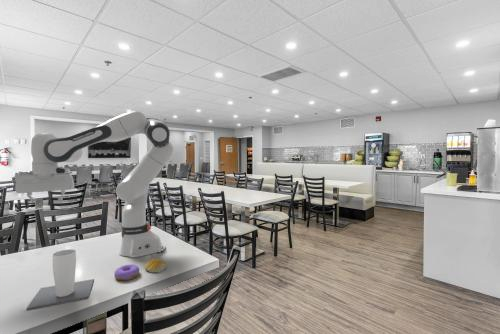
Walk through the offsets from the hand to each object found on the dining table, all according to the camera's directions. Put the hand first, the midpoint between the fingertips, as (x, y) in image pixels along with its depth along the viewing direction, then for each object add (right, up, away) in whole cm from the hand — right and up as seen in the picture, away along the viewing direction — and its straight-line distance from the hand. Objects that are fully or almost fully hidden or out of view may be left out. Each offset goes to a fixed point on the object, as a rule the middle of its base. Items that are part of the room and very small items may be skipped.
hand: (47, 201), depth 111 cm
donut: (+38, -31, -6) cm, 49 cm away
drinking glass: (+23, -30, -21) cm, 44 cm away
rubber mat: (+22, -31, -20) cm, 43 cm away
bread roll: (+48, -31, +2) cm, 57 cm away
